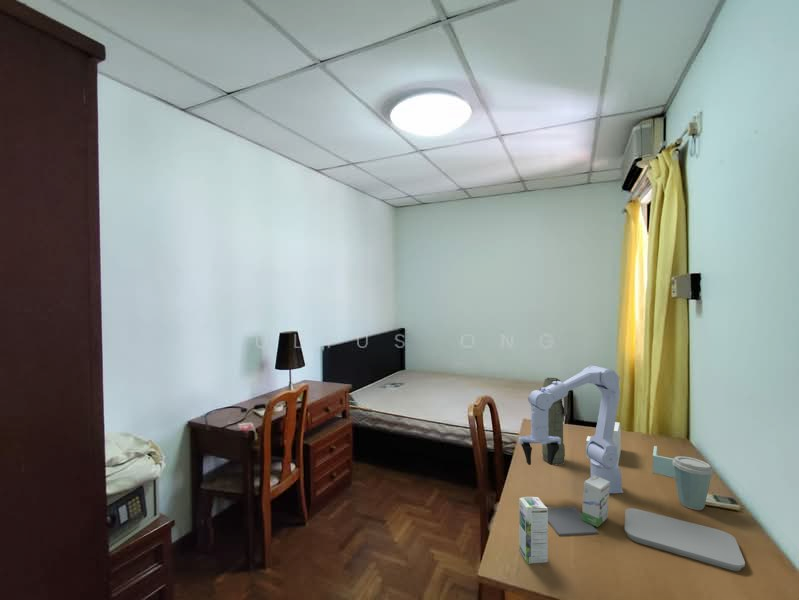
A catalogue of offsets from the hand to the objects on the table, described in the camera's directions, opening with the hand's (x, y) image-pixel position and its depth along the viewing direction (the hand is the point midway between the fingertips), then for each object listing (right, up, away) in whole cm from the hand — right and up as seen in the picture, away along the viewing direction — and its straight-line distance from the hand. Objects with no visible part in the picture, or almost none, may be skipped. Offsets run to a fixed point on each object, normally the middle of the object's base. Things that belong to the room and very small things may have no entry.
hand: (539, 463), depth 129 cm
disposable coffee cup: (+48, -11, -8) cm, 50 cm away
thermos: (+17, -11, +27) cm, 34 cm away
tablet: (+30, -11, -25) cm, 41 cm away
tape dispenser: (+41, -11, +33) cm, 54 cm away
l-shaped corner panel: (+59, -11, +16) cm, 62 cm away
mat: (+3, -11, -16) cm, 19 cm away
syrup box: (-14, -11, -31) cm, 36 cm away
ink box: (+11, -11, -15) cm, 22 cm away
